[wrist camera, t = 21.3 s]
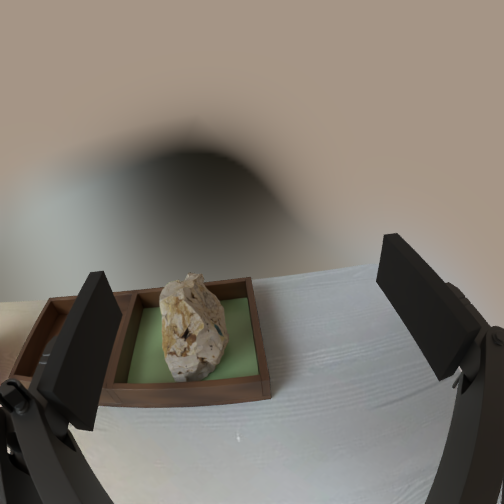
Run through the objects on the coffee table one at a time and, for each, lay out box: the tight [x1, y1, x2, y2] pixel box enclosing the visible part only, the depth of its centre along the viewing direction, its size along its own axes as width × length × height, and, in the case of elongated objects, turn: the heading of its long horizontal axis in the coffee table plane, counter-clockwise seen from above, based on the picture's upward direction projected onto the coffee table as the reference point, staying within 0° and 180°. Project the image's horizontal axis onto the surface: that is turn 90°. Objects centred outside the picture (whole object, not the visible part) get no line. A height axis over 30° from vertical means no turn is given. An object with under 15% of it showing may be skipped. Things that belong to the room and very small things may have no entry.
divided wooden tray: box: [8, 277, 271, 408], centre depth 32 cm, size 32×17×4 cm, turn 96°
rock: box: [159, 273, 229, 382], centre depth 31 cm, size 12×7×10 cm, turn 0°
